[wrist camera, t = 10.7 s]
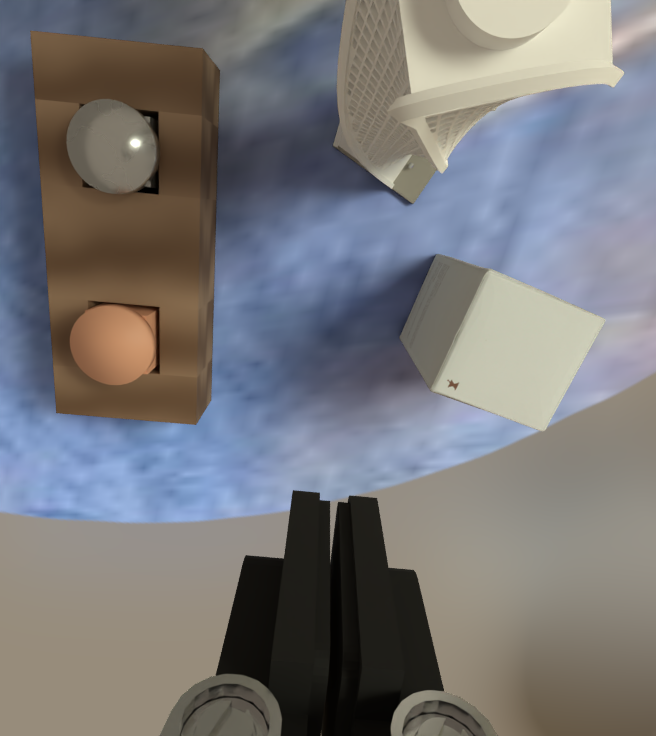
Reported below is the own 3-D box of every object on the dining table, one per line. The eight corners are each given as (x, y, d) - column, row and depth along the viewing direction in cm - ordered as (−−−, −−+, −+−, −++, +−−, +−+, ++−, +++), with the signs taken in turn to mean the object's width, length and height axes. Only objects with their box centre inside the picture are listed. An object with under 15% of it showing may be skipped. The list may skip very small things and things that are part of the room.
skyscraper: (400, 221, 38) (574, 248, 11) (308, 154, 37) (256, 6, 10) (472, 116, 36) (896, -155, 9) (377, 42, 35) (548, -531, 8)
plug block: (71, 55, 35) (30, 30, 30) (219, 70, 35) (202, 48, 30) (87, 389, 42) (56, 413, 37) (211, 400, 42) (196, 424, 37)
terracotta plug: (107, 288, 38) (67, 303, 32) (178, 295, 38) (150, 310, 32) (110, 356, 40) (72, 381, 34) (177, 361, 40) (151, 388, 34)
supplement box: (480, 371, 41) (543, 438, 29) (396, 338, 41) (425, 392, 28) (524, 286, 39) (611, 320, 27) (436, 249, 39) (486, 266, 26)
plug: (107, 113, 36) (63, 94, 30) (183, 121, 36) (154, 103, 30) (110, 192, 37) (69, 189, 31) (182, 199, 37) (155, 197, 31)
